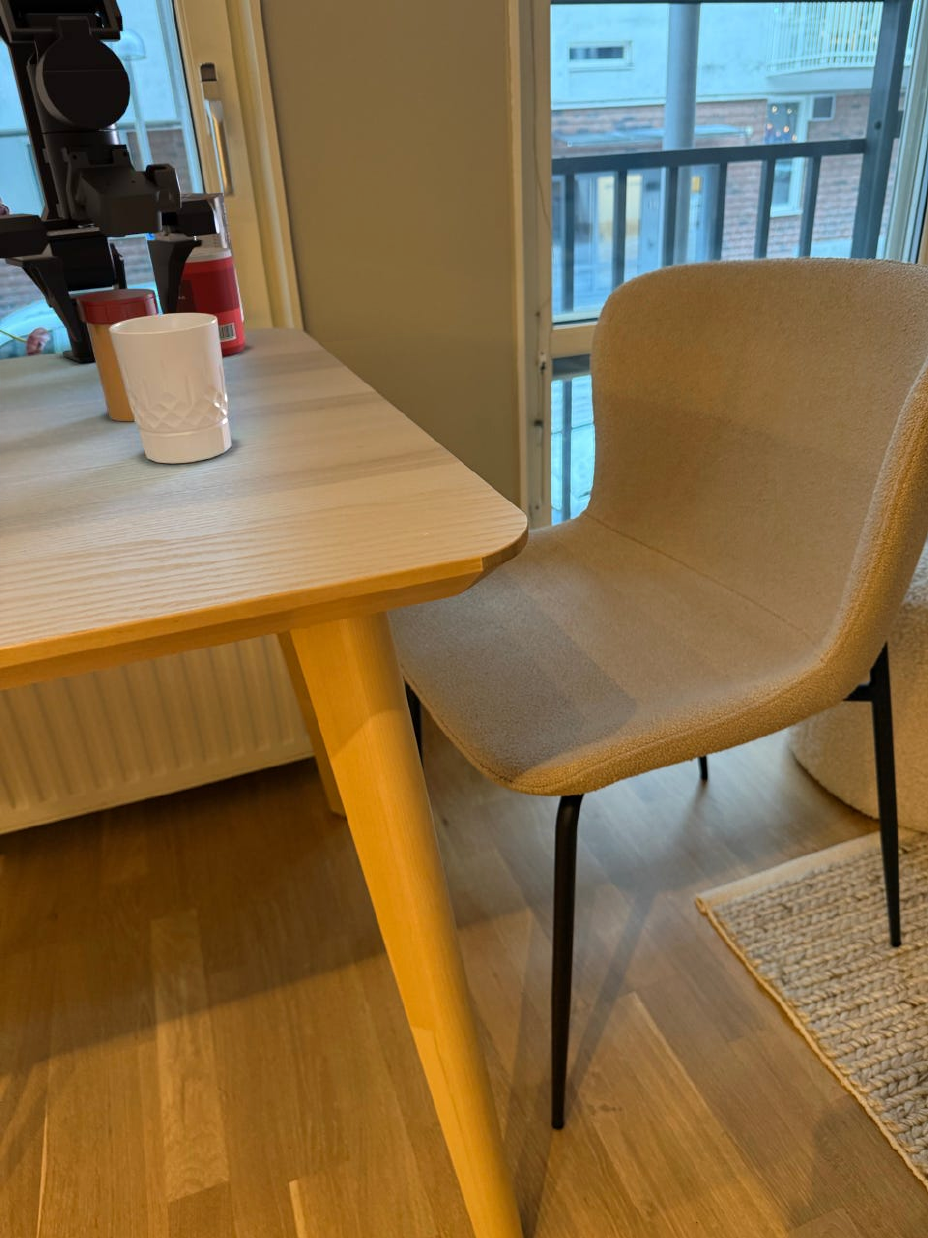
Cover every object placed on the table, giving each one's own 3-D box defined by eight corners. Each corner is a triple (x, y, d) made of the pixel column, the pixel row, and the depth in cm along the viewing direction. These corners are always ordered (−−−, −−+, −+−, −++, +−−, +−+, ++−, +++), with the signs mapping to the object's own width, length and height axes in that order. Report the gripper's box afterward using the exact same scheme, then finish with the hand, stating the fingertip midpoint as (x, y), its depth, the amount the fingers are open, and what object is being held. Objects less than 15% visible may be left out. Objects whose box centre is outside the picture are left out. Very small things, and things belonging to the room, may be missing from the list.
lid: (158, 318, 77) (154, 296, 76) (78, 326, 76) (72, 303, 75) (159, 307, 83) (155, 285, 82) (84, 314, 81) (79, 292, 80)
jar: (99, 413, 84) (71, 300, 79) (158, 400, 87) (134, 290, 82) (123, 425, 80) (96, 306, 75) (184, 411, 83) (161, 296, 78)
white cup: (257, 438, 74) (236, 313, 69) (203, 470, 68) (176, 333, 63) (176, 433, 77) (151, 311, 72) (117, 463, 70) (85, 331, 65)
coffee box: (197, 324, 122) (173, 193, 114) (245, 321, 123) (224, 190, 115) (187, 337, 114) (160, 198, 107) (238, 333, 115) (215, 195, 107)
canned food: (255, 343, 109) (239, 246, 104) (233, 358, 102) (216, 255, 97) (194, 345, 110) (176, 248, 104) (169, 360, 103) (148, 257, 97)
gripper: (-15, 134, 61) (47, 365, 69) (232, 123, 71) (263, 326, 79) (-55, 139, 69) (5, 346, 76) (174, 128, 79) (207, 312, 86)
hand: (125, 332), depth 79 cm, fingers open, 8 cm apart
